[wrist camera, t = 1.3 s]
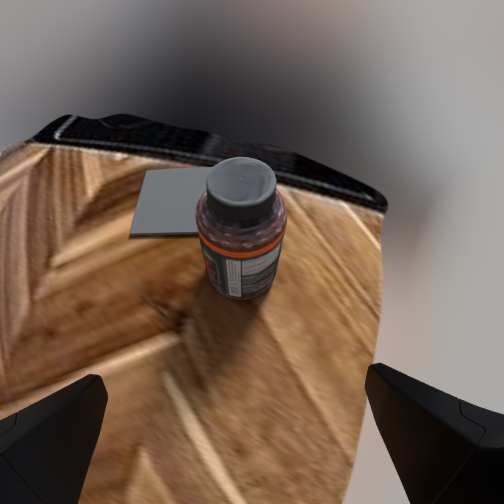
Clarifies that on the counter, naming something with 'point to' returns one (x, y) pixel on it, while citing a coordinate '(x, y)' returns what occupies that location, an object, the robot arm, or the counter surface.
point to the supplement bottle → (241, 227)
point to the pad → (169, 202)
